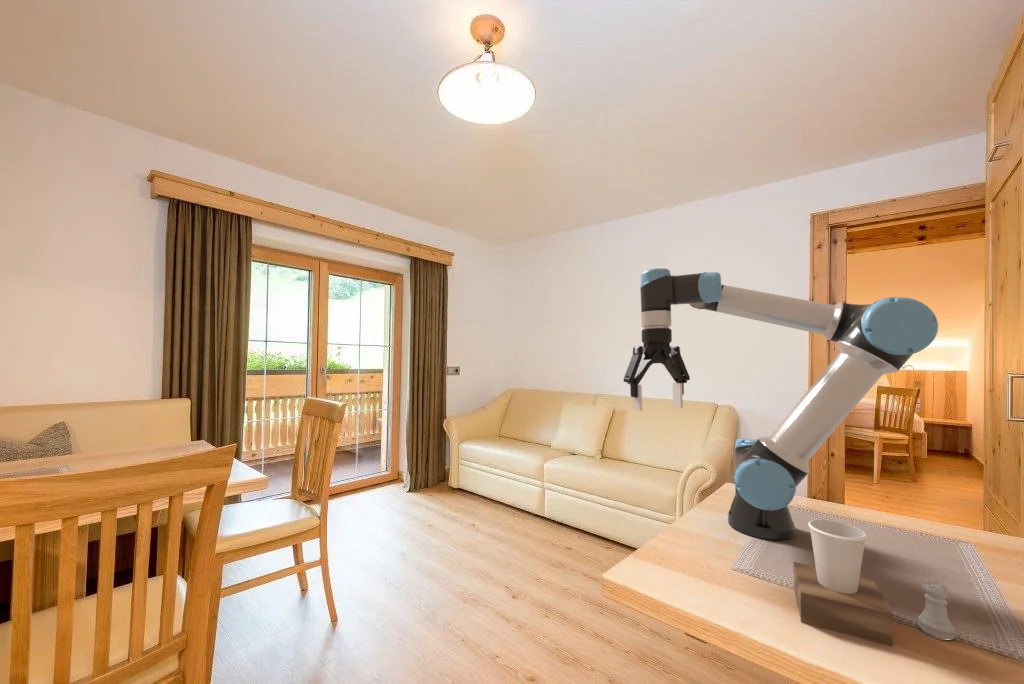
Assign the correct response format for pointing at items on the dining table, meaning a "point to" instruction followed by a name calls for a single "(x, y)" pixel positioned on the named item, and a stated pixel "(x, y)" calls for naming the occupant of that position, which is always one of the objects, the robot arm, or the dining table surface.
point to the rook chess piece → (936, 612)
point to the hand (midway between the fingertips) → (658, 408)
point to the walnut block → (843, 607)
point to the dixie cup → (837, 554)
